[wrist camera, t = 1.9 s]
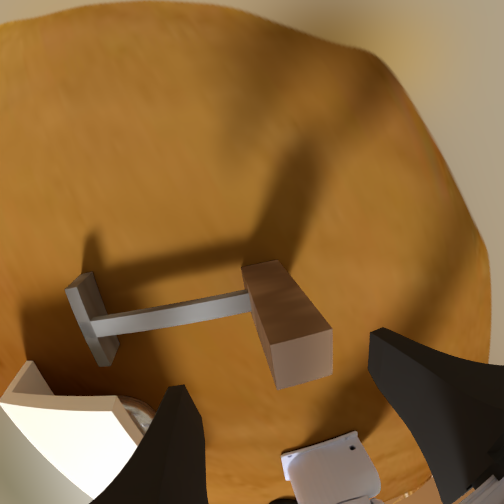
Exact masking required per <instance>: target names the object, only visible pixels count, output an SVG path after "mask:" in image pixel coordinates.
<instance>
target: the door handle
mask: <svg viewBox="0 0 504 504" xmlns="http://www.w3.org/2000/svg"><path fill="white" fill-rule="evenodd" d="M270 504H298V502H297V501H295V500H288V499H278V500H275V501H273V502H271V503H270Z"/></svg>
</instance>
